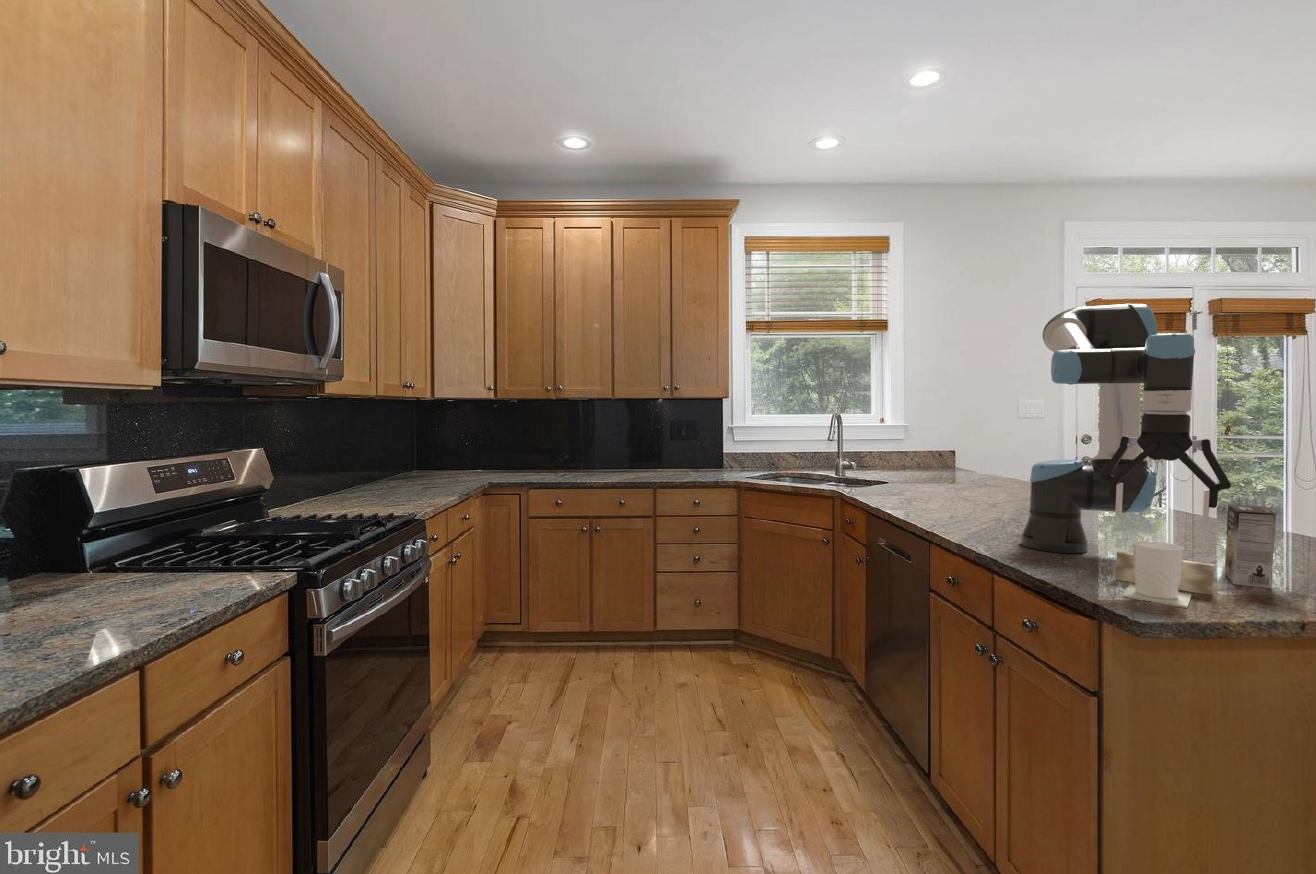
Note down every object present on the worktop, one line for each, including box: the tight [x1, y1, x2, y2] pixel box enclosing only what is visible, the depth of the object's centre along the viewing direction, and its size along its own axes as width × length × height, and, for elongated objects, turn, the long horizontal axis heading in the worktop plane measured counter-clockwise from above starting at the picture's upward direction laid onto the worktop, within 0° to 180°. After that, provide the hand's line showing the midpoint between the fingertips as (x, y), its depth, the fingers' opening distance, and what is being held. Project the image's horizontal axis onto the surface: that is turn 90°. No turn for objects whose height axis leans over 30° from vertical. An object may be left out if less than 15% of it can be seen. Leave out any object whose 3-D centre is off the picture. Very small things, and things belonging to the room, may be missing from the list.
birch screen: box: [1115, 551, 1215, 596], centre depth 133 cm, size 16×2×6 cm, turn 46°
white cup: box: [1133, 540, 1185, 599], centre depth 126 cm, size 8×8×10 cm
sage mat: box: [1122, 583, 1193, 609], centre depth 126 cm, size 10×10×1 cm
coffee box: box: [1224, 504, 1277, 589], centre depth 136 cm, size 9×6×16 cm
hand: (1160, 519), depth 126 cm, fingers open, 13 cm apart
